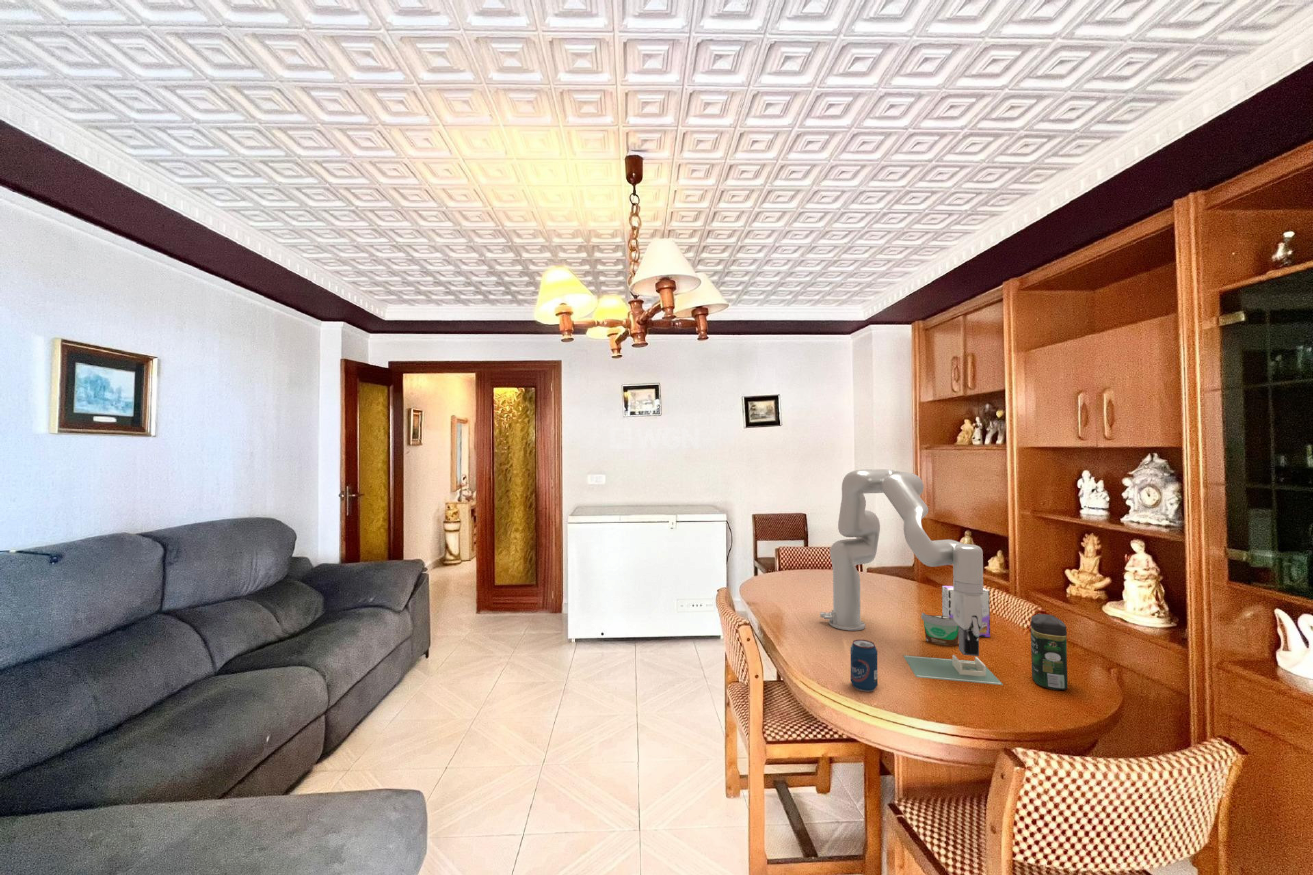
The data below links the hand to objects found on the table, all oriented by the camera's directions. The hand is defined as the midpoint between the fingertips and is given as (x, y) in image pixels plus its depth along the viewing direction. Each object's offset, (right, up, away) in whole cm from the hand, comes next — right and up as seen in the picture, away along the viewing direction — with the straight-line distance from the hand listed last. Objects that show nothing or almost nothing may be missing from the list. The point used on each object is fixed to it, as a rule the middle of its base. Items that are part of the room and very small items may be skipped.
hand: (968, 650), depth 153 cm
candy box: (+19, -8, +34) cm, 39 cm away
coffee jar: (+19, -7, -5) cm, 21 cm away
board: (-5, -7, +1) cm, 9 cm away
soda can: (-34, -7, -8) cm, 35 cm away
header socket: (0, -6, 0) cm, 6 cm away
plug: (0, -1, 0) cm, 1 cm away
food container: (+4, -8, +22) cm, 23 cm away
